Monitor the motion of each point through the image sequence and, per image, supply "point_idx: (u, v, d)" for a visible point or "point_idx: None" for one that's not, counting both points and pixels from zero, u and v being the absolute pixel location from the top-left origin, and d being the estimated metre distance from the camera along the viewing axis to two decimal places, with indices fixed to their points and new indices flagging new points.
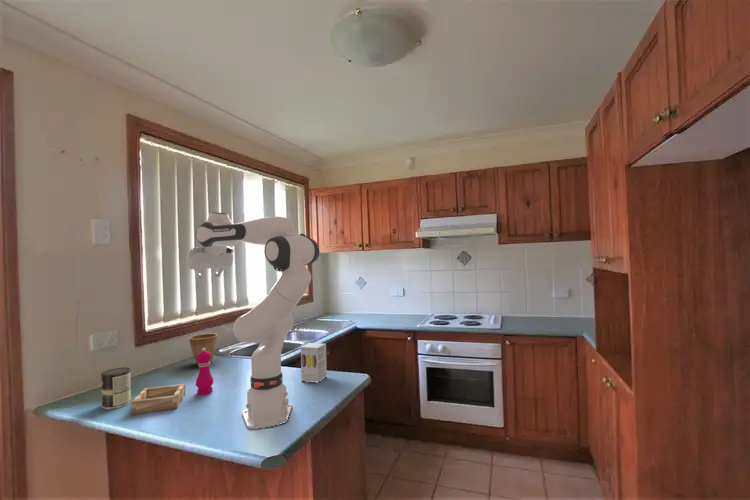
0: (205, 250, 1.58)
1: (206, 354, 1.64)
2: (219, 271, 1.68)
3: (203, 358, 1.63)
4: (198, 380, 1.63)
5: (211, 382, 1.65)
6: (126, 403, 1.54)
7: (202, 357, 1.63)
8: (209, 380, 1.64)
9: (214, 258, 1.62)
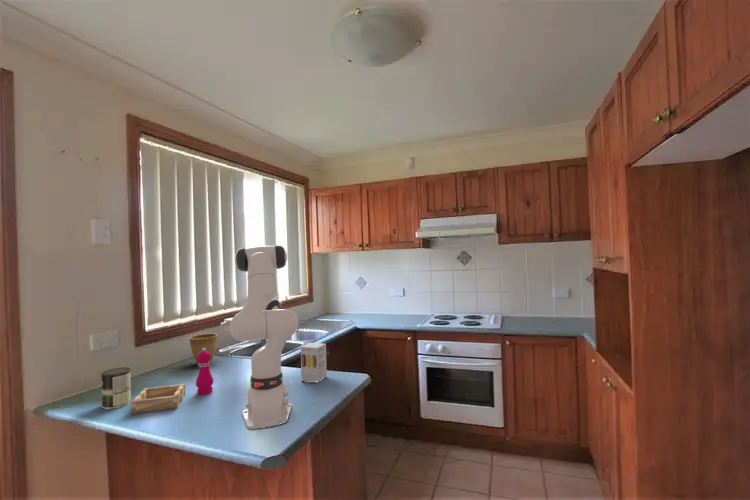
0: None
1: (206, 354, 1.64)
2: None
3: (203, 358, 1.63)
4: (198, 380, 1.63)
5: (211, 382, 1.65)
6: (126, 403, 1.54)
7: (202, 357, 1.63)
8: (209, 380, 1.64)
9: None
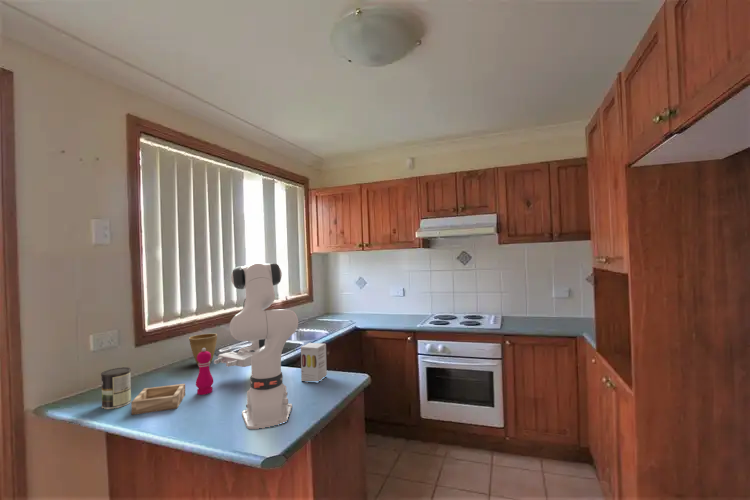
0: None
1: (206, 354, 1.64)
2: None
3: (203, 358, 1.63)
4: (198, 380, 1.63)
5: (211, 382, 1.65)
6: (126, 403, 1.54)
7: (202, 357, 1.63)
8: (209, 380, 1.64)
9: (238, 355, 1.80)
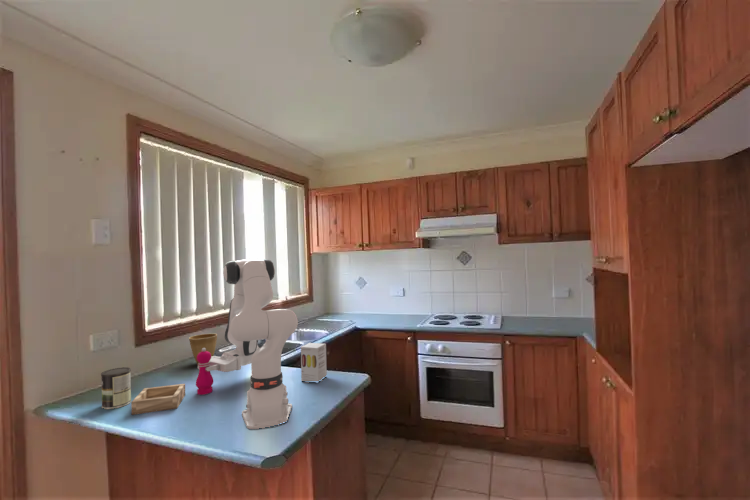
0: None
1: (206, 354, 1.64)
2: None
3: (203, 358, 1.63)
4: (198, 380, 1.63)
5: (211, 382, 1.65)
6: (126, 403, 1.54)
7: (202, 357, 1.63)
8: (209, 380, 1.64)
9: (221, 359, 1.73)
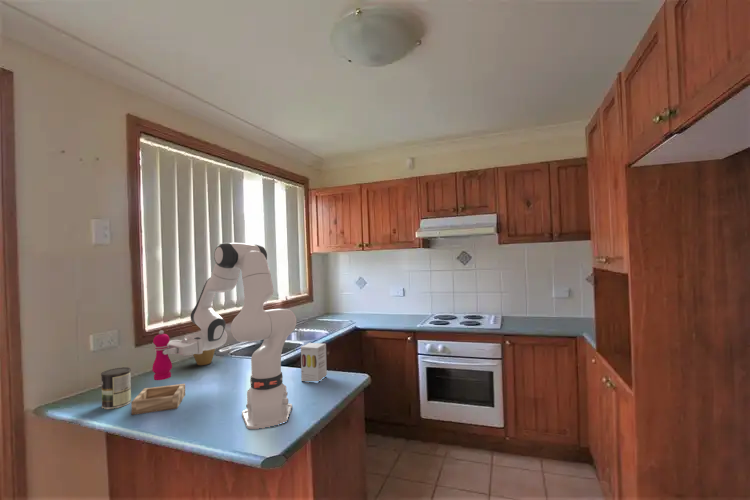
0: None
1: (163, 336, 1.53)
2: None
3: (160, 341, 1.52)
4: (154, 364, 1.52)
5: (169, 367, 1.54)
6: (126, 403, 1.54)
7: (159, 340, 1.52)
8: (166, 365, 1.53)
9: (182, 343, 1.61)
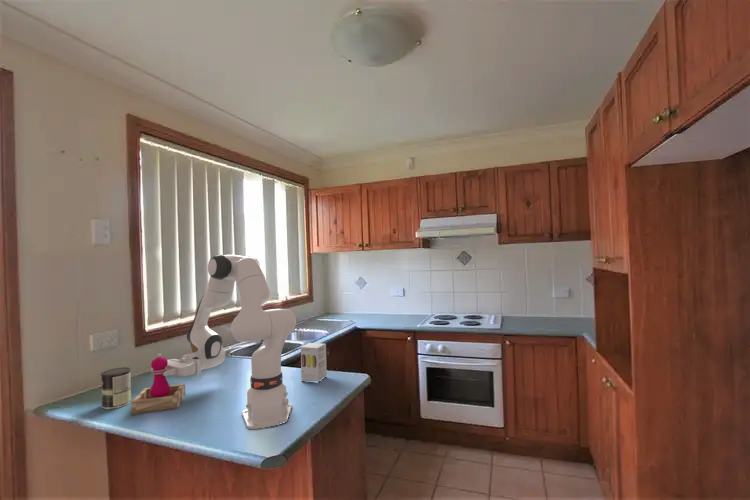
0: None
1: (161, 360, 1.52)
2: None
3: (158, 365, 1.51)
4: (152, 389, 1.51)
5: (167, 391, 1.53)
6: (126, 403, 1.54)
7: (157, 364, 1.51)
8: (164, 389, 1.52)
9: (180, 363, 1.60)
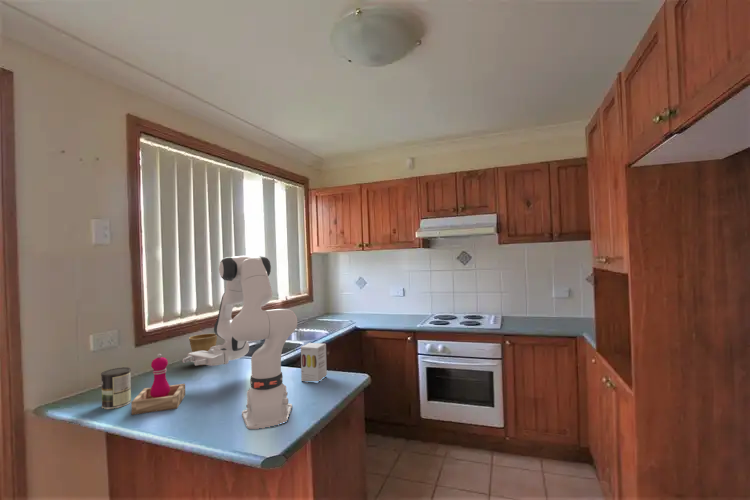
0: None
1: (161, 360, 1.52)
2: None
3: (158, 365, 1.51)
4: (152, 389, 1.51)
5: (167, 391, 1.53)
6: (126, 403, 1.54)
7: (157, 364, 1.51)
8: (164, 389, 1.52)
9: (209, 354, 1.71)
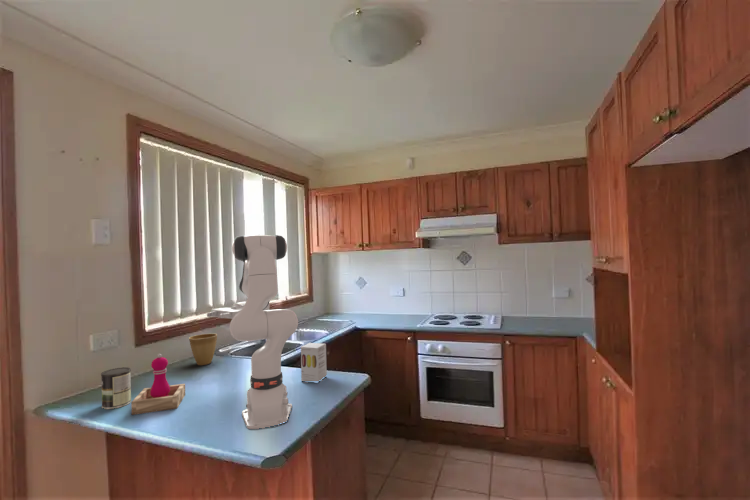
0: None
1: (161, 360, 1.52)
2: None
3: (158, 365, 1.51)
4: (152, 389, 1.51)
5: (167, 391, 1.53)
6: (126, 403, 1.54)
7: (157, 364, 1.51)
8: (164, 389, 1.52)
9: (232, 309, 1.76)
